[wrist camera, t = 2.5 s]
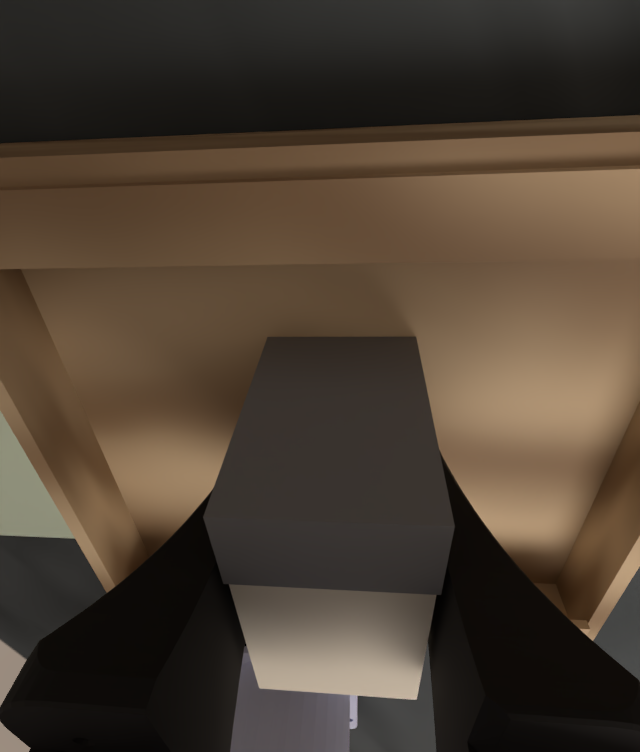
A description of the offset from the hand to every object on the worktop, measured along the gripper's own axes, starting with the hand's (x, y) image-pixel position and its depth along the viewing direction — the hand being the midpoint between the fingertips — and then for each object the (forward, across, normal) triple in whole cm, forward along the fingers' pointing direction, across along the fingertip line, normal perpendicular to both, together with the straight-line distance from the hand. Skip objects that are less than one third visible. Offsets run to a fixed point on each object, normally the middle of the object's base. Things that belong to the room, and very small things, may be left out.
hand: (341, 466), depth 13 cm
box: (+2, 0, 0) cm, 2 cm away
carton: (+2, 0, 0) cm, 2 cm away
